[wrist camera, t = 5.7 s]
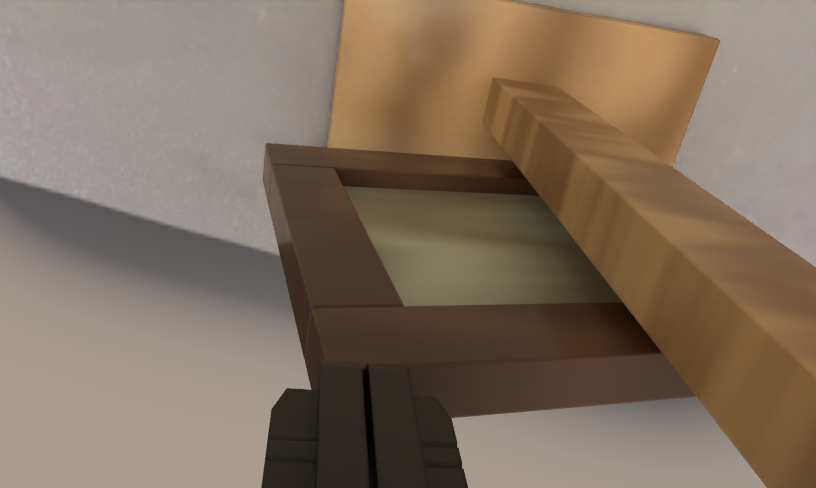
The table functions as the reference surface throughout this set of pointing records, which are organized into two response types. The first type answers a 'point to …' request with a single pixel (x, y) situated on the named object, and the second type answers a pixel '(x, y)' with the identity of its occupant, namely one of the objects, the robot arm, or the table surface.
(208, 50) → the table surface
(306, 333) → the frame
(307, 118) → the table surface
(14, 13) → the table surface
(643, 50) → the stand
